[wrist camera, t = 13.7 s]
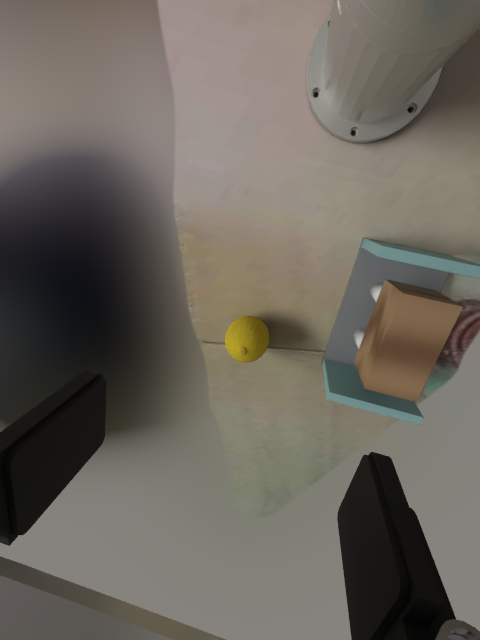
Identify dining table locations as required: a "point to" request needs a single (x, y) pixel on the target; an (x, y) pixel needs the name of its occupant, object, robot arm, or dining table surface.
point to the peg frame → (356, 312)
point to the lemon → (247, 339)
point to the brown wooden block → (404, 339)
